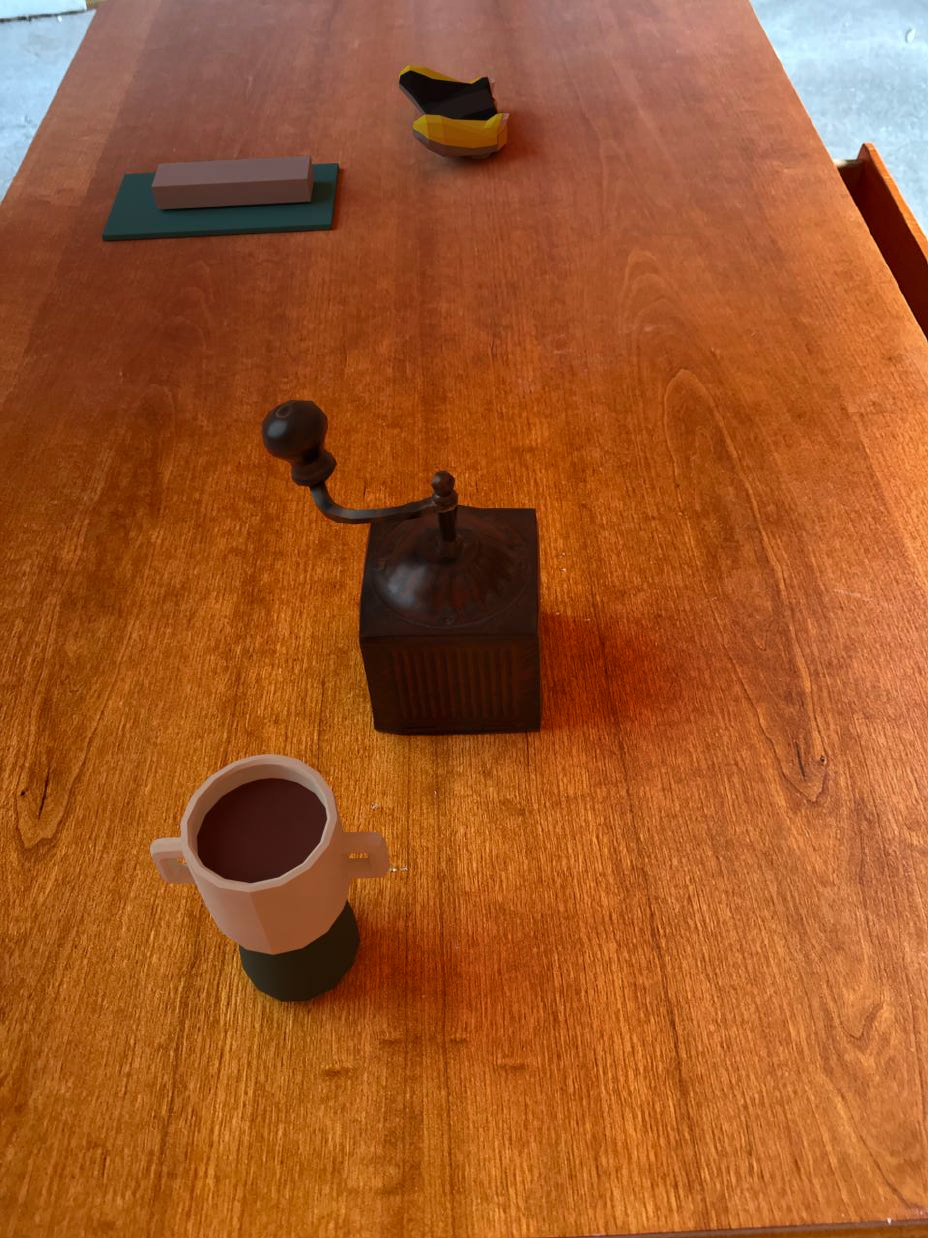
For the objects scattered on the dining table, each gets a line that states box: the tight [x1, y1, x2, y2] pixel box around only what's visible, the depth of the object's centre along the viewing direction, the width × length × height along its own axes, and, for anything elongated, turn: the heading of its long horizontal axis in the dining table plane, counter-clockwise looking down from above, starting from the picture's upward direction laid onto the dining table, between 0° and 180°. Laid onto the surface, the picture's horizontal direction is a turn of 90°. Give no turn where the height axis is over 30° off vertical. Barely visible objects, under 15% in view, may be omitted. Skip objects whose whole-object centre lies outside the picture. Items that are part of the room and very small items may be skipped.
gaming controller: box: [398, 64, 510, 160], centre depth 118 cm, size 15×6×10 cm
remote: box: [152, 155, 314, 209], centre depth 111 cm, size 3×5×15 cm
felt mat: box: [101, 162, 340, 242], centre depth 113 cm, size 22×12×1 cm, turn 91°
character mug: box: [149, 753, 391, 1003], centre depth 55 cm, size 11×7×13 cm, turn 90°
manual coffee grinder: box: [261, 399, 544, 736], centre depth 66 cm, size 16×11×18 cm
